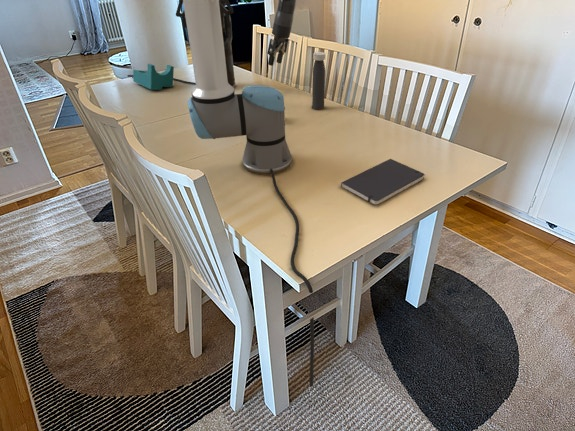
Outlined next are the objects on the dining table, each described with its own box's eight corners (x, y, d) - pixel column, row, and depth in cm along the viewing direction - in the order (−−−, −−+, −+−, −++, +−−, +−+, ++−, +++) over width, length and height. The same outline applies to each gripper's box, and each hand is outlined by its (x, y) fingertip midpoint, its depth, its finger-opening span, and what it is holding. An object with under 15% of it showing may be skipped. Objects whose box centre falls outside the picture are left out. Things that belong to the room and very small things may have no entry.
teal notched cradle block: (172, 90, 189) (173, 66, 185) (150, 89, 182) (151, 65, 177) (154, 81, 200) (155, 59, 196) (133, 80, 193) (133, 57, 188)
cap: (326, 57, 153) (326, 52, 152) (323, 60, 150) (323, 55, 149) (315, 57, 154) (315, 51, 153) (311, 60, 151) (311, 54, 150)
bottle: (325, 106, 164) (327, 53, 152) (322, 110, 161) (323, 56, 149) (314, 105, 166) (314, 52, 154) (310, 109, 162) (311, 55, 150)
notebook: (389, 163, 124) (340, 187, 113) (390, 158, 123) (341, 182, 112) (424, 178, 116) (375, 206, 105) (425, 174, 115) (376, 201, 104)
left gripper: (281, 20, 172) (273, 59, 180) (267, 21, 160) (259, 63, 169) (297, 25, 170) (288, 64, 179) (284, 27, 158) (275, 68, 167)
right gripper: (235, -35, 140) (241, 31, 152) (161, -31, 136) (173, 36, 149) (237, -33, 134) (243, 36, 146) (160, -30, 130) (172, 40, 143)
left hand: (274, 64), depth 174 cm, fingers open, 8 cm apart
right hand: (208, 36), depth 147 cm, fingers open, 13 cm apart
